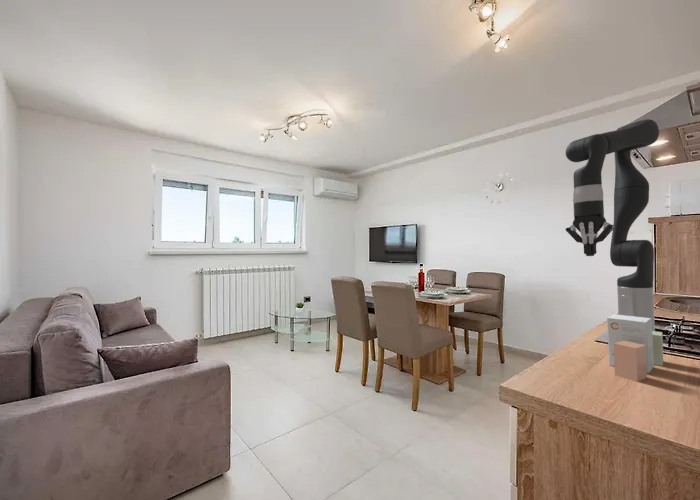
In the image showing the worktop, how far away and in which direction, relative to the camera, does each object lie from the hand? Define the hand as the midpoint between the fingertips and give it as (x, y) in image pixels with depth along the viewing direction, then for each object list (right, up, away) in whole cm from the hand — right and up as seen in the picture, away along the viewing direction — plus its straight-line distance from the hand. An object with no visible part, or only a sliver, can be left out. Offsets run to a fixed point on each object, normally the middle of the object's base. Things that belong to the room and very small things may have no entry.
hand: (590, 255), depth 99 cm
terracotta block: (-6, -29, -21) cm, 37 cm away
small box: (-1, -29, -15) cm, 33 cm away
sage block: (+7, -29, -13) cm, 32 cm away
